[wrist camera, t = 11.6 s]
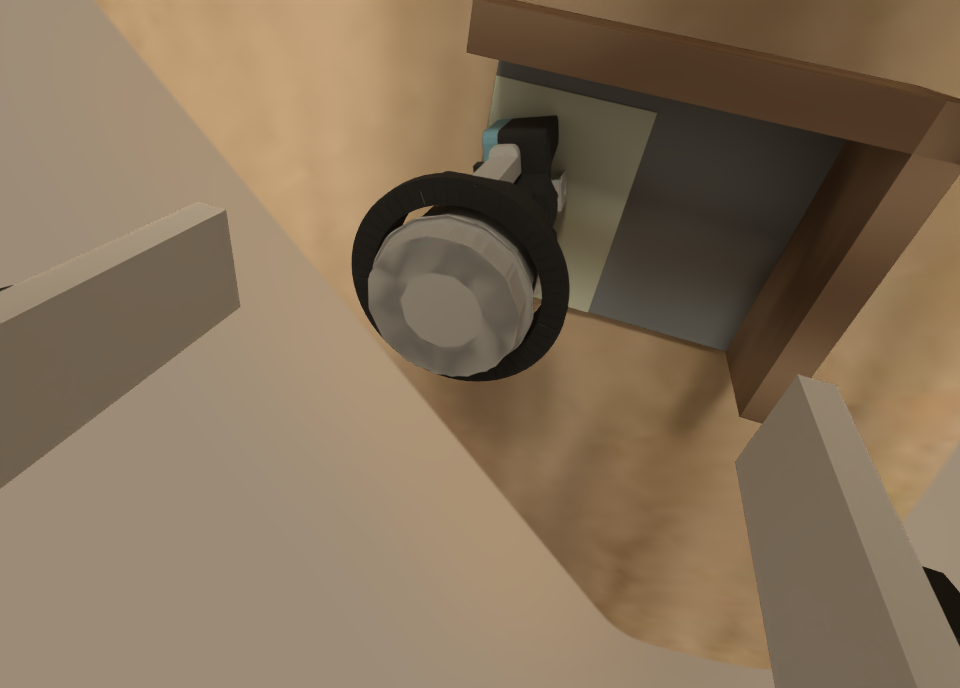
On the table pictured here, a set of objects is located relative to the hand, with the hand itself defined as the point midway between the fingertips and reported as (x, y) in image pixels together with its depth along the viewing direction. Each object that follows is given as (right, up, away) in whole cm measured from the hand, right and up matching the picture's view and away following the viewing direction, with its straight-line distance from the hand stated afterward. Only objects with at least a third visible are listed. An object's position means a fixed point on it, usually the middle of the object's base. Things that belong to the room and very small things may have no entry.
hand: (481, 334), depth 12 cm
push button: (+2, +5, +8) cm, 10 cm away
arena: (+6, +5, +7) cm, 11 cm away
